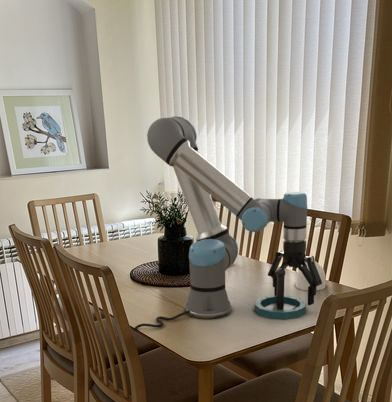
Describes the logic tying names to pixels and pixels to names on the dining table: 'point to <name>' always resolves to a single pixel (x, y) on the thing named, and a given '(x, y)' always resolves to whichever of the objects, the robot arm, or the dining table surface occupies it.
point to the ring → (280, 313)
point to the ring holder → (280, 293)
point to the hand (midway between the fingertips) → (293, 300)
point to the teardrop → (304, 284)
